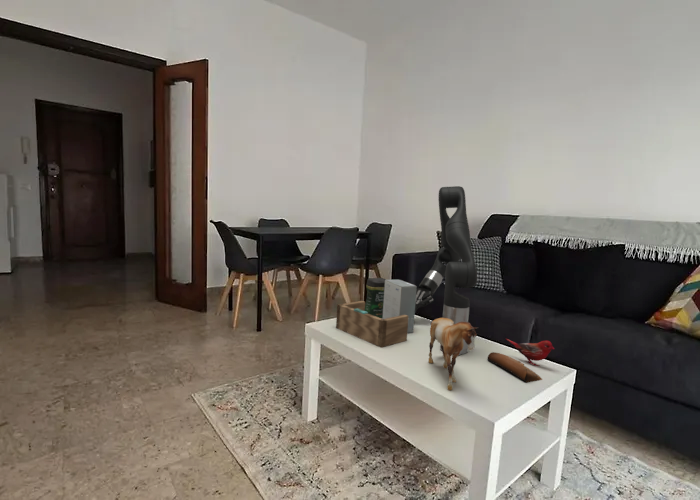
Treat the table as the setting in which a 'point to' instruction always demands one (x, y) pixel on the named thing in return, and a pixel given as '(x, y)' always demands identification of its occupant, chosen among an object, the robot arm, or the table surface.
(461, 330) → the horse figurine
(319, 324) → the table surface
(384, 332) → the wooden box
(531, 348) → the decorative bird figurine
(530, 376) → the sunglasses case
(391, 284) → the hard drive box
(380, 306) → the coffee jar
